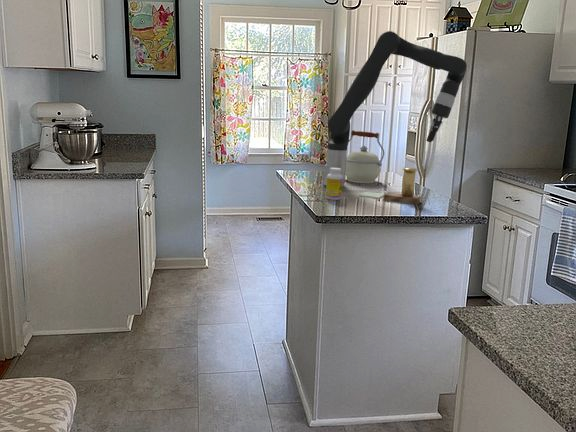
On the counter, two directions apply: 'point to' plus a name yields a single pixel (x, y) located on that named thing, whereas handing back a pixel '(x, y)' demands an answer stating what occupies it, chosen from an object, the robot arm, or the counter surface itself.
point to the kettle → (363, 162)
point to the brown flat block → (401, 198)
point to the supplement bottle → (334, 184)
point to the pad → (372, 195)
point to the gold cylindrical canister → (408, 182)
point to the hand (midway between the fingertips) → (429, 141)
